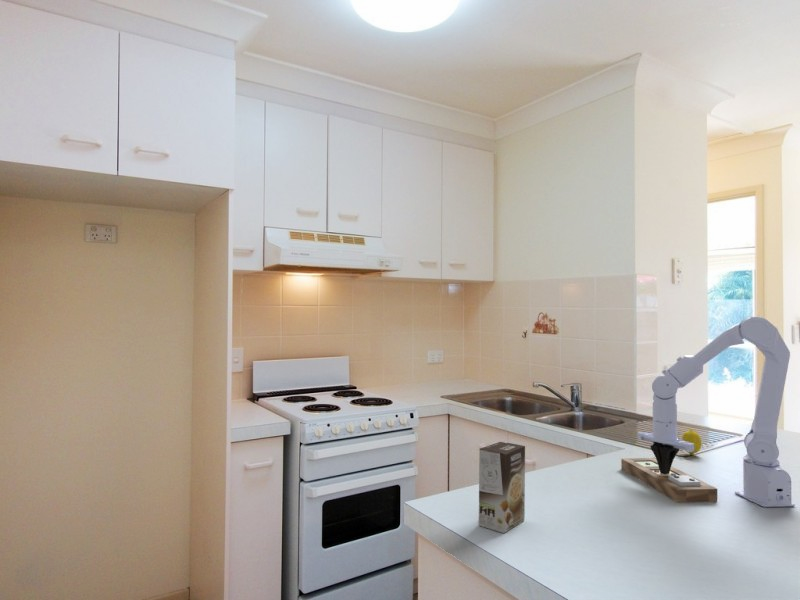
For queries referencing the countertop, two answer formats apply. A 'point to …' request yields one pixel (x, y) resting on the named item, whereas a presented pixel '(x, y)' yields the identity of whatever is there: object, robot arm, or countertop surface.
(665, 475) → the button three
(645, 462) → the button one
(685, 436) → the lemon
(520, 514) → the coffee box
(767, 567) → the countertop surface
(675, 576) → the countertop surface
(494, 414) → the countertop surface
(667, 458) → the robot arm
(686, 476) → the button two
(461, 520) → the countertop surface
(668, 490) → the frame
